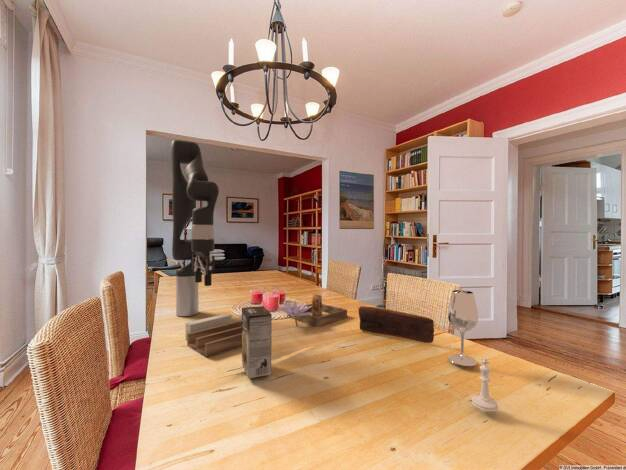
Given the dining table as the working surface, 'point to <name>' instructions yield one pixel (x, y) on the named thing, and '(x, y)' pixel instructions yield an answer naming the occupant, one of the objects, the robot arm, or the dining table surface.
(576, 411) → the dining table surface
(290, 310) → the water lily
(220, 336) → the rack
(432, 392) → the dining table surface
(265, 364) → the coffee box
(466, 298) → the wineglass
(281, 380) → the dining table surface
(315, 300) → the stone disc
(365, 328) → the wooden tablet
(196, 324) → the cream rectangular block
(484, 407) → the chess piece
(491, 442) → the dining table surface
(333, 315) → the square wooden tray
